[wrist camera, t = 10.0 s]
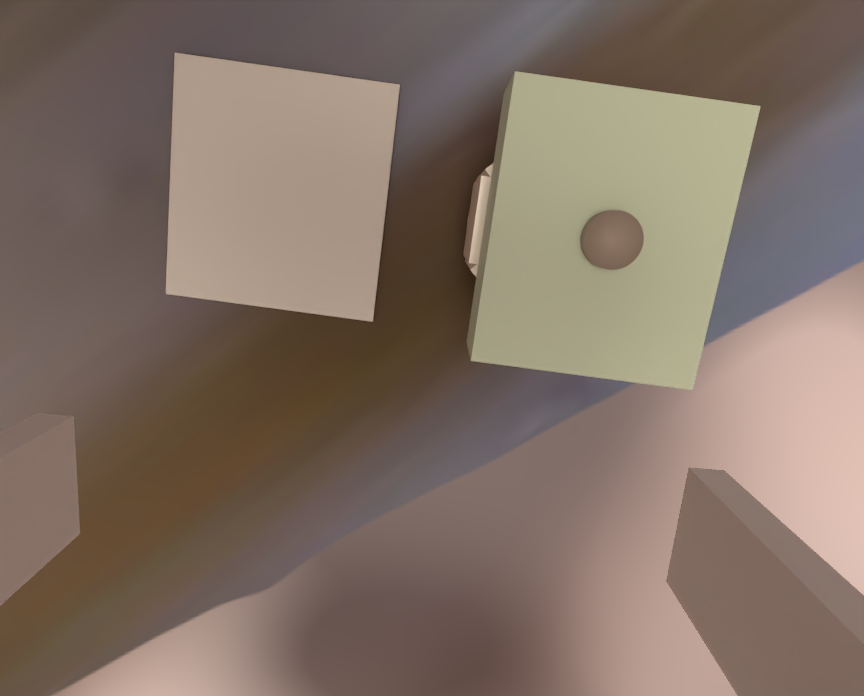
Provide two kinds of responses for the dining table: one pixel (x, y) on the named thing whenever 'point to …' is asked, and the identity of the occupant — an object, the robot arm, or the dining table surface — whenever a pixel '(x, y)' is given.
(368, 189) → the mat
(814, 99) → the dining table surface
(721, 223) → the lid
